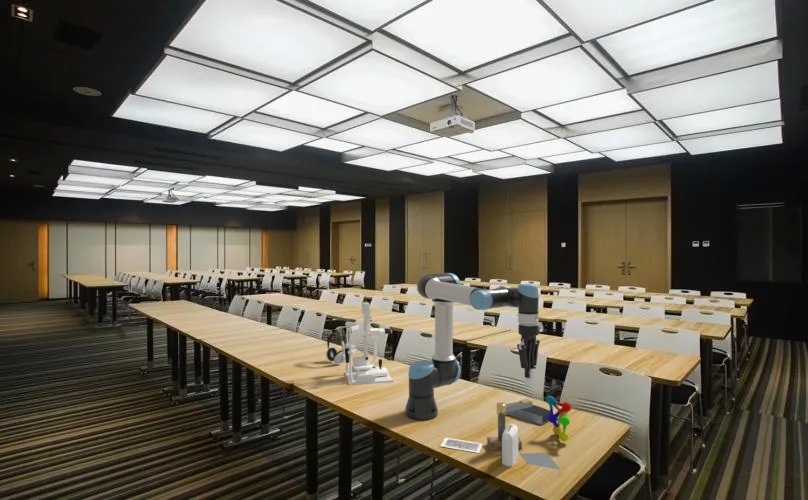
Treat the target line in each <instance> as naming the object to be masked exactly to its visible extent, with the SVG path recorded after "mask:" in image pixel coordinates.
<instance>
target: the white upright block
mask: <svg viewBox="0 0 808 500" xmlns="http://www.w3.org/2000/svg"><path fill="white" fill-rule="evenodd" d="M518 438H519V429H518V426H517V425H516V424H513V423H510V424H508V425H507V426H505V430H504V432H503V435H502V450H501V463H502V465H503V466H506V467H513V466H515V463H516V462H517V460H518V457H519V449H518Z"/></svg>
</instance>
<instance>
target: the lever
mask: <svg viewBox="0 0 808 500" xmlns="http://www.w3.org/2000/svg"><path fill="white" fill-rule="evenodd" d="M532 405H533V401H532V400H530V399H527V398H526V399H519V401H516V402H511V403H506V402H505V403H504V402H497V403H496V414H497V416H498V415H505V416H506V415H507V414H506V412H509V411H514V410H519V409H523V408H528V407H532Z"/></svg>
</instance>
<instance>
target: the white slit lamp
mask: <svg viewBox="0 0 808 500" xmlns="http://www.w3.org/2000/svg"><path fill="white" fill-rule="evenodd" d="M371 312H372V311H371V306H370V303H369V302H367V301H366V302H362V303H361V313H362V315H363V331H364V334H363V335H362V337H363V340H362V343H363V345H362V346H363V355H362V356H361V355H360V356H352V355H353V354H355V353H357V352H358V351H359V348H358V345H357V344H356V345H355V344H352V332H356V331H358V330H359V329H360V324H359V323H357V322H353V321H345V324H344V325H345V327H346V344H344V351H345V363H346V367H345V371H344V374H345V378H346V380H347V383H348V386H353V385H365V384H366V385H367V384H381V383H392V382H394V380H393V378H392V377H391V375H390V374H389V372H388V369H387V368H386V367H383V366H382V365H383V359H381V358H379V359H378V366H375V364H376V363H375V362H376V360H377V358H378V340H379V338H380V336H383V337H384V336H386V335H387V334H388V335H389V334H392V330H391V329H390V328H388V327H387V328H385V327H384V328H383V327H382V328H379V327H375V328H369V326H368V324H370V323H371V322H372V321H373V320H372V317H371ZM367 333H368V334H367ZM368 336H369V338H372V339H373V357H372V360H371V362H368V360H369V353H368V352H369V351H368Z"/></svg>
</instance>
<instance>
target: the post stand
mask: <svg viewBox="0 0 808 500" xmlns="http://www.w3.org/2000/svg"><path fill="white" fill-rule="evenodd" d="M505 428H506V415H498V414H497V436H487V437H486V442H487V443H486V444H487V446H488V449H489V450H490V451H502V435H503V432H504V430H505ZM518 450H523V441H522V440H521V439H520V438H519V437H518Z"/></svg>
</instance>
